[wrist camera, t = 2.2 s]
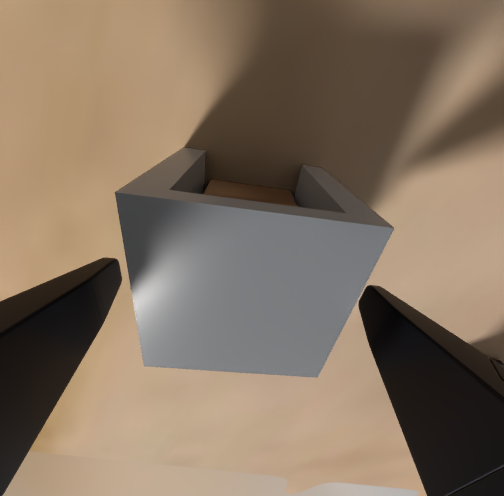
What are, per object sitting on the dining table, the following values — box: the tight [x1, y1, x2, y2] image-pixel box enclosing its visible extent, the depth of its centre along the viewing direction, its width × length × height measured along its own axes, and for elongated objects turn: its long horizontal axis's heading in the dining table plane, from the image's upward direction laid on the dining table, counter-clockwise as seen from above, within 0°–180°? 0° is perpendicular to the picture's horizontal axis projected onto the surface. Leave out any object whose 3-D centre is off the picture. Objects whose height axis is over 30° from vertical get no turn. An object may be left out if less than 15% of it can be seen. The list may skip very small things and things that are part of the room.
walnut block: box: [204, 179, 298, 207], centre depth 11 cm, size 4×4×4 cm
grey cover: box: [115, 147, 394, 378], centre depth 10 cm, size 7×7×6 cm
